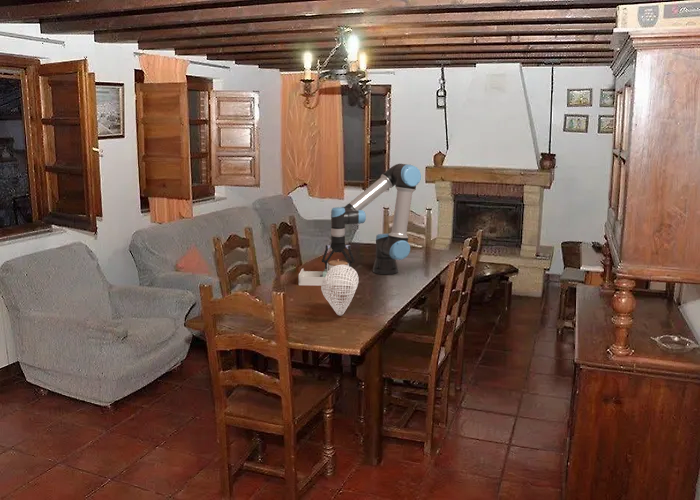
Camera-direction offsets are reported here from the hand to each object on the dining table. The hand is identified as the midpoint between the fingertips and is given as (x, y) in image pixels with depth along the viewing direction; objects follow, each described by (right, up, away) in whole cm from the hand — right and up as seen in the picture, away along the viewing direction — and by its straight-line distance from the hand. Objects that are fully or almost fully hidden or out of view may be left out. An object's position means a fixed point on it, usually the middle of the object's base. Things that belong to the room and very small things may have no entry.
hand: (338, 274), depth 362 cm
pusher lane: (-6, -4, +1) cm, 7 cm away
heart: (+2, -17, -60) cm, 62 cm away
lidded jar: (0, -1, 0) cm, 1 cm away
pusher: (-8, -3, +1) cm, 9 cm away
